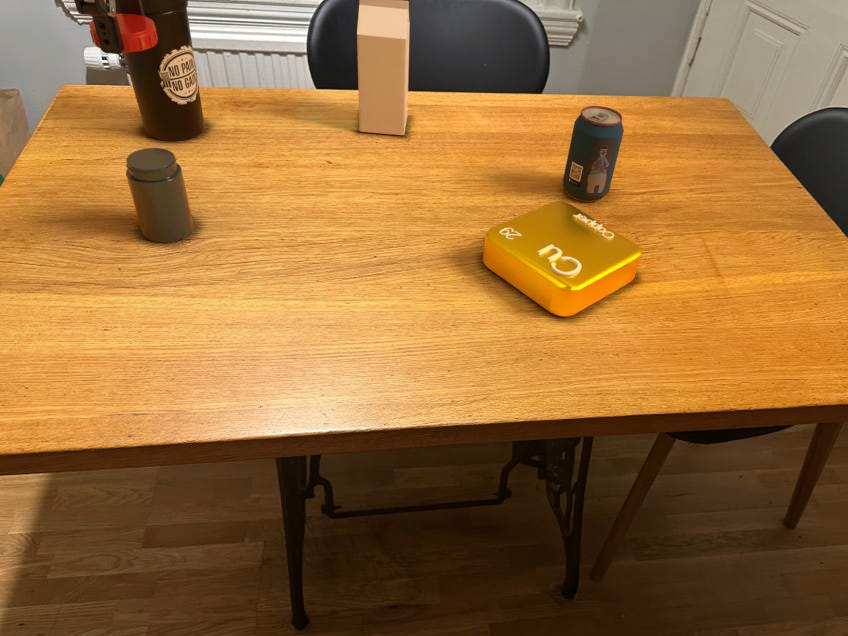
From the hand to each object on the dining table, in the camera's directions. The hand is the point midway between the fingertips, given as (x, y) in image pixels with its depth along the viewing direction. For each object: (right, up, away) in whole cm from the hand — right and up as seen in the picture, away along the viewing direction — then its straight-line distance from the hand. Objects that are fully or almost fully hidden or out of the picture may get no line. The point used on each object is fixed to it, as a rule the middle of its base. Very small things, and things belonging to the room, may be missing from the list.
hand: (125, 40), depth 77 cm
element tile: (+49, -24, +12) cm, 56 cm away
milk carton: (+23, +3, +37) cm, 44 cm away
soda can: (+55, -11, +27) cm, 62 cm away
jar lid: (0, +1, -1) cm, 1 cm away
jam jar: (0, -19, +10) cm, 21 cm away
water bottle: (-7, 0, +29) cm, 30 cm away
